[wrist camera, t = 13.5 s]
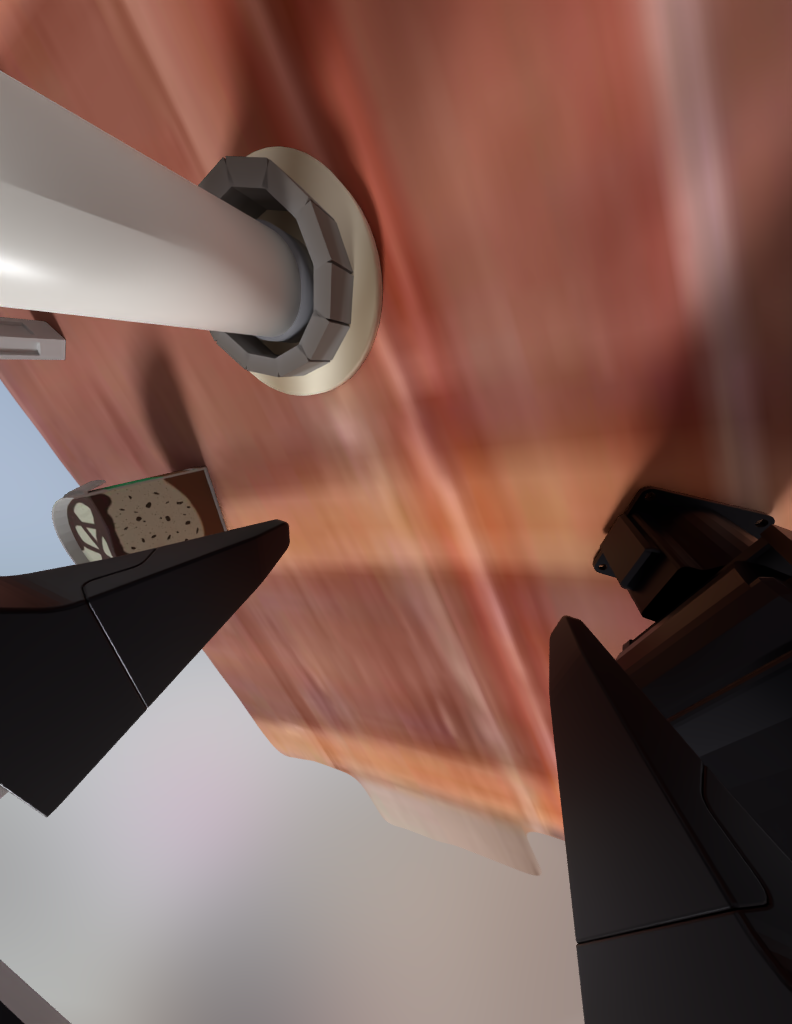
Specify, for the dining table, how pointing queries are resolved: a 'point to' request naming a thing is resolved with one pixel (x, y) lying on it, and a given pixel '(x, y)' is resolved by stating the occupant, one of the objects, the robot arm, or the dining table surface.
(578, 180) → the dining table surface
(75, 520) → the food container
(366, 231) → the socket
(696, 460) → the dining table surface
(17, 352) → the stool
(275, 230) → the white smooth rounded part
